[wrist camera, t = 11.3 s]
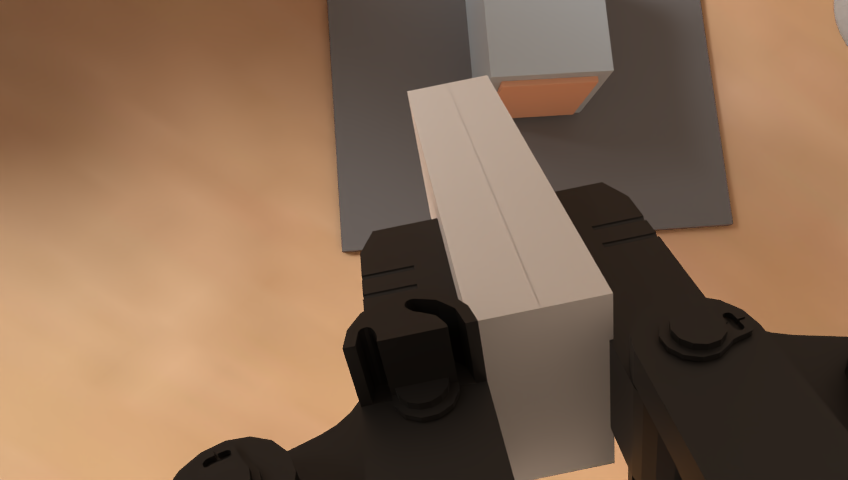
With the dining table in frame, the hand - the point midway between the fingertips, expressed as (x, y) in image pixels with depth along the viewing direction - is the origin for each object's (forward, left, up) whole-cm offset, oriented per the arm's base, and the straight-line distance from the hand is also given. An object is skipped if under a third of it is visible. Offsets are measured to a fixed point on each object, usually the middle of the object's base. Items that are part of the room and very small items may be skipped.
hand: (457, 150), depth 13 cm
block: (+7, +8, -21) cm, 24 cm away
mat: (+7, +11, -24) cm, 27 cm away
